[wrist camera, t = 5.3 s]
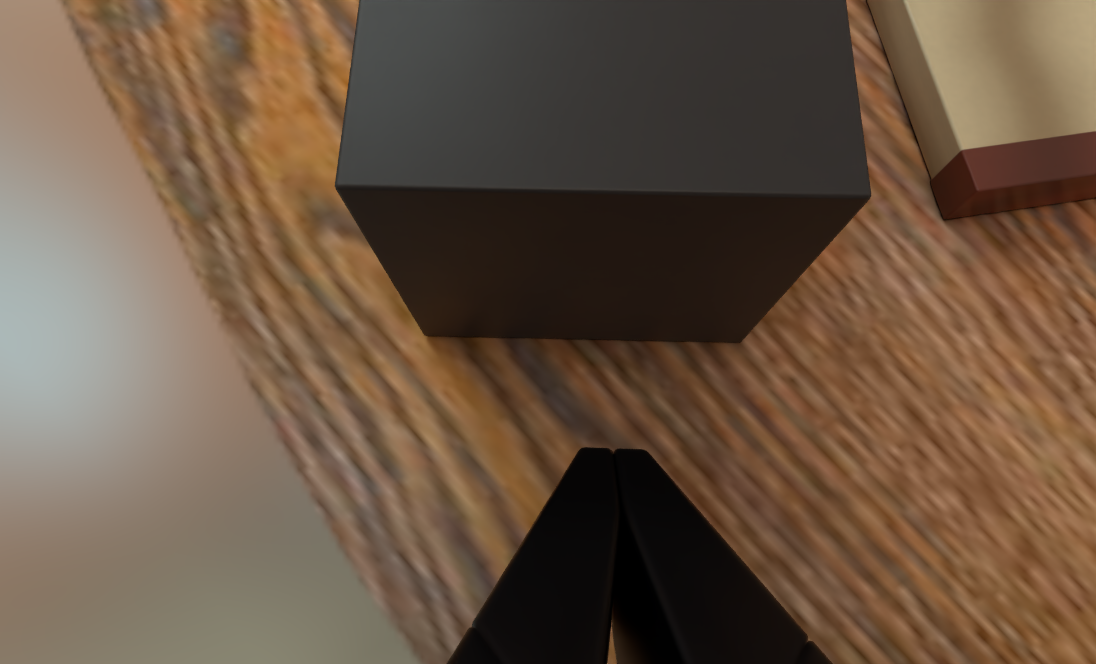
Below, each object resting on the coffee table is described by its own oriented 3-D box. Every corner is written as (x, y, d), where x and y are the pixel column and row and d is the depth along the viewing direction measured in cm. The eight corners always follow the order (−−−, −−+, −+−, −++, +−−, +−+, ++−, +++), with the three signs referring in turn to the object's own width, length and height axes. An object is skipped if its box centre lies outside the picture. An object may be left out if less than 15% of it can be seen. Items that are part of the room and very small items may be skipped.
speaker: (747, 343, 17) (884, 197, 10) (423, 336, 17) (333, 188, 10) (722, -36, 21) (810, -341, 14) (455, -39, 21) (403, -342, 14)
